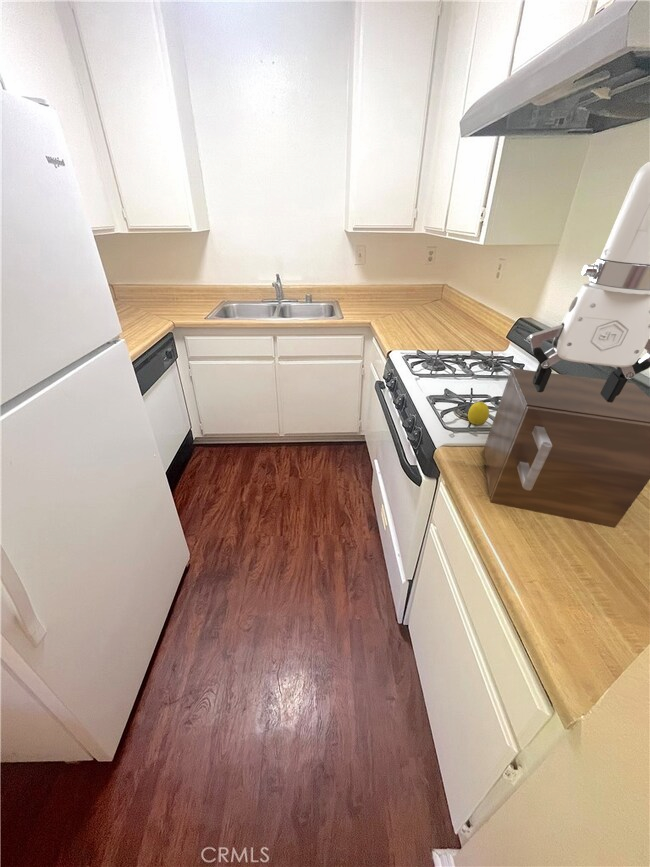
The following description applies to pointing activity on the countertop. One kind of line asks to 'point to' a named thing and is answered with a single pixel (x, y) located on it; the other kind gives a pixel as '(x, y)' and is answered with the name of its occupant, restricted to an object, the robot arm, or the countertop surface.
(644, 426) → the door
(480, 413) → the lemon
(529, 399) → the cupboard
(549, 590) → the countertop surface
